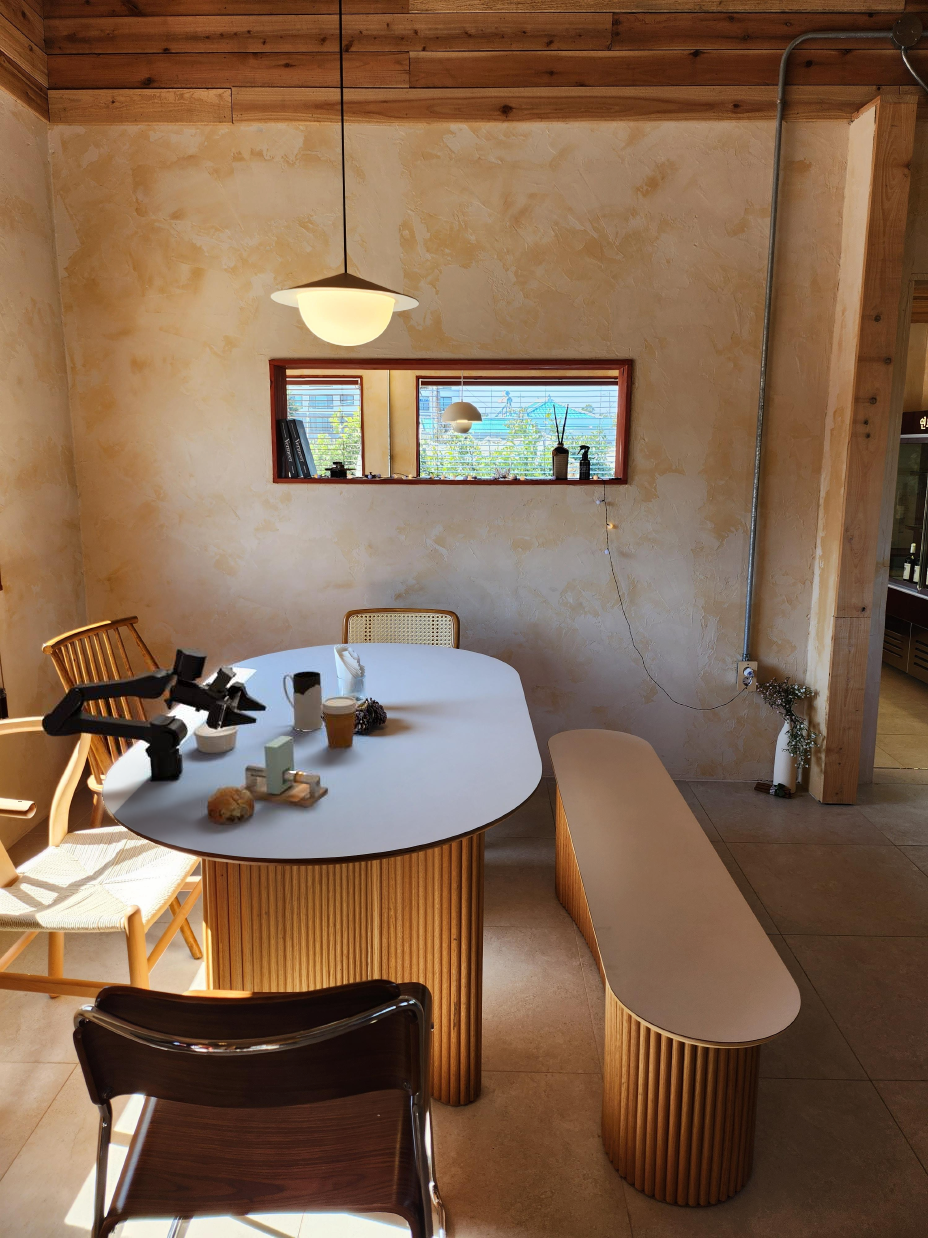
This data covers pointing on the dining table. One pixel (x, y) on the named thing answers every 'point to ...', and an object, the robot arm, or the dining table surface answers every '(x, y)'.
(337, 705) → the disposable coffee cup
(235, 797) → the bread roll
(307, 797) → the walnut board
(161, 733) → the robot arm
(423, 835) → the dining table surface
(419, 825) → the dining table surface
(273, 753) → the sage green slotted block
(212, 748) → the ramekin
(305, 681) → the black and white mug
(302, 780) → the grey metal pipe
